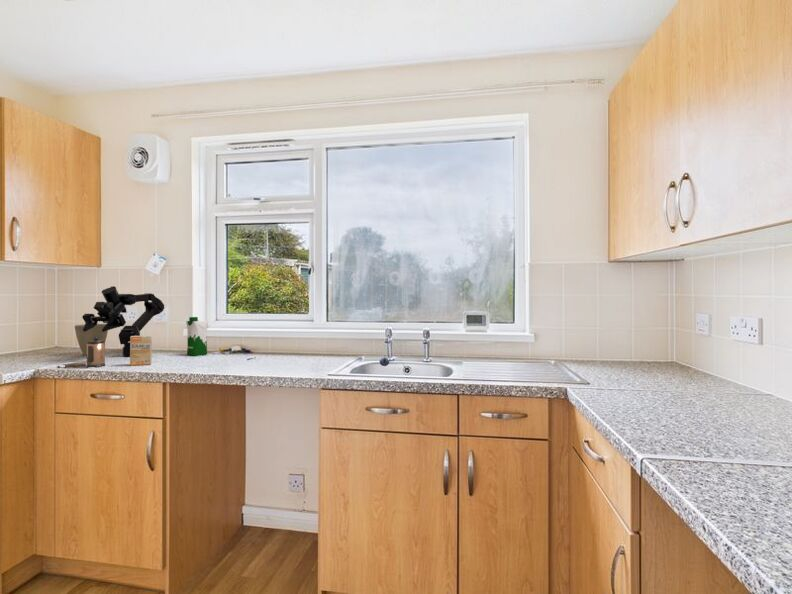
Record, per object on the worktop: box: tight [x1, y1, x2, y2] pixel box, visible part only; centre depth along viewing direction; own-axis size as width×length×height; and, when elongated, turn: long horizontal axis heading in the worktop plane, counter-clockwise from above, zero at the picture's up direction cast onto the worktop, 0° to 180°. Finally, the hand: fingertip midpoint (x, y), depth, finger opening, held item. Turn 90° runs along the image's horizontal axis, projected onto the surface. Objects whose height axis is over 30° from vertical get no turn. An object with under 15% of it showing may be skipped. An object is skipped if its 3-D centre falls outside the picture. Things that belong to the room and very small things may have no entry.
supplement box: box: [129, 335, 153, 367], centre depth 196 cm, size 8×5×13 cm, turn 115°
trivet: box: [62, 362, 87, 368], centre depth 192 cm, size 10×10×1 cm
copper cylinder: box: [86, 336, 106, 368], centre depth 191 cm, size 8×7×13 cm
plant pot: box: [74, 323, 109, 356], centre depth 230 cm, size 15×15×16 cm
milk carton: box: [185, 316, 209, 357], centre depth 228 cm, size 9×9×20 cm
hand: (92, 330), depth 200 cm, fingers open, 9 cm apart
